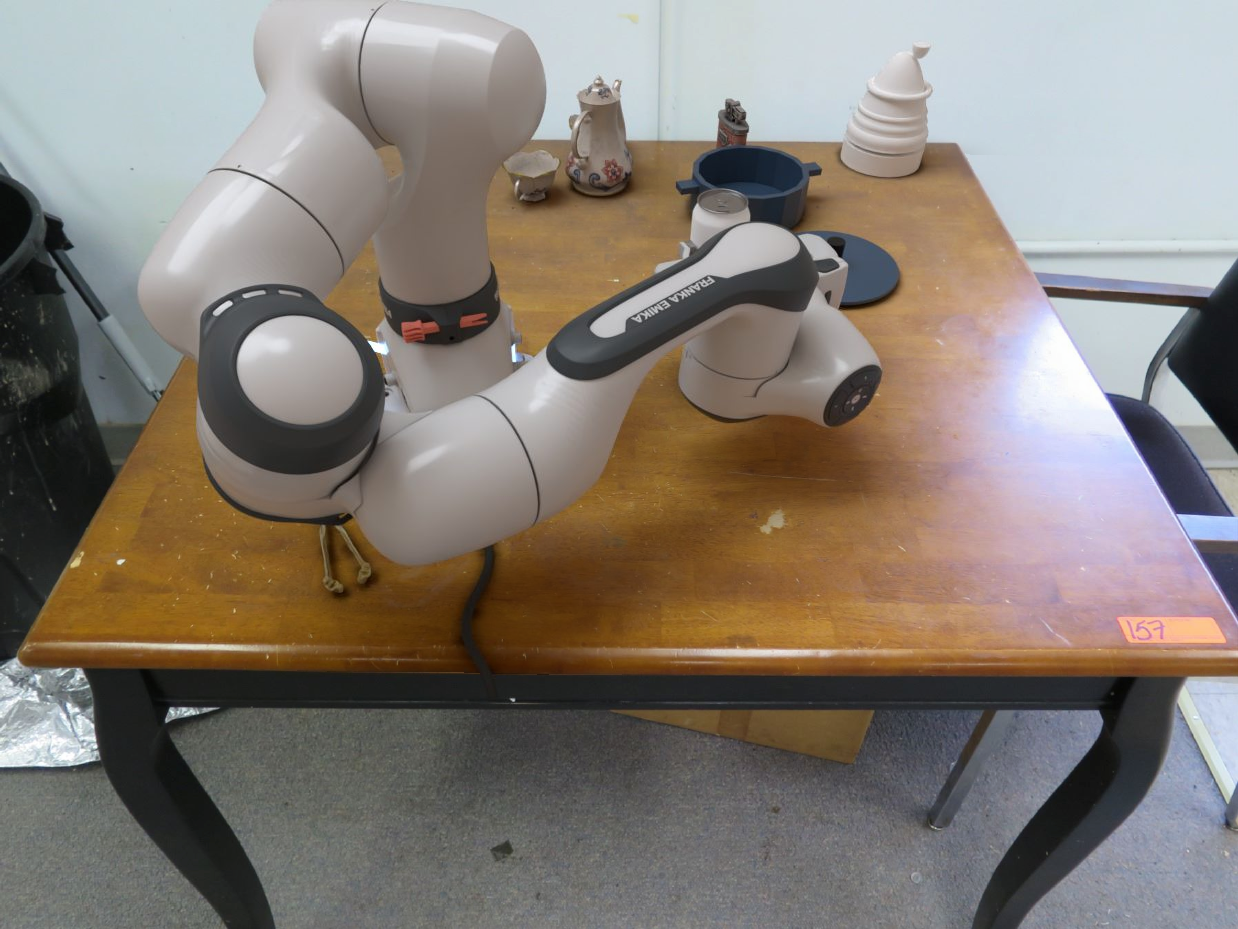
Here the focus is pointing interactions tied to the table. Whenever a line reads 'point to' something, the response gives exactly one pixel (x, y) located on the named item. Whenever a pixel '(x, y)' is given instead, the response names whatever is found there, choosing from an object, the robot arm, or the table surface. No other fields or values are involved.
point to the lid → (862, 267)
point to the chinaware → (582, 150)
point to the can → (717, 213)
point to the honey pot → (890, 119)
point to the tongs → (328, 581)
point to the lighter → (732, 125)
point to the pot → (755, 180)
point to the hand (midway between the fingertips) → (714, 240)
